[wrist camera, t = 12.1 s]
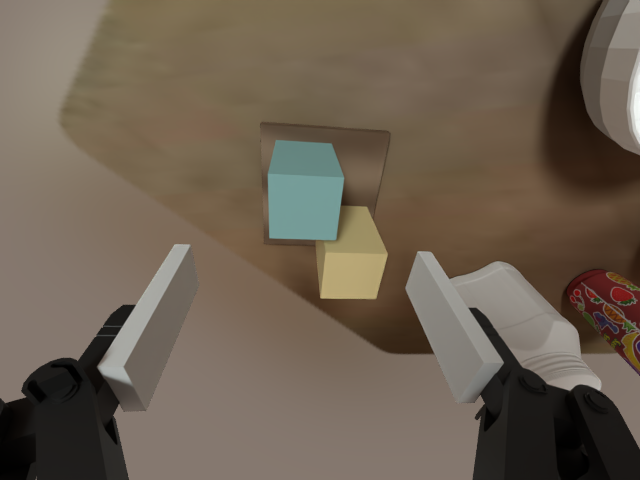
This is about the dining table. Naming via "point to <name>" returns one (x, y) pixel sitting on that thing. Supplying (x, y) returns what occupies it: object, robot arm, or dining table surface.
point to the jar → (527, 324)
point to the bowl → (614, 72)
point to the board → (353, 156)
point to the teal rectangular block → (304, 191)
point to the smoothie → (610, 310)
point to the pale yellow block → (351, 257)
